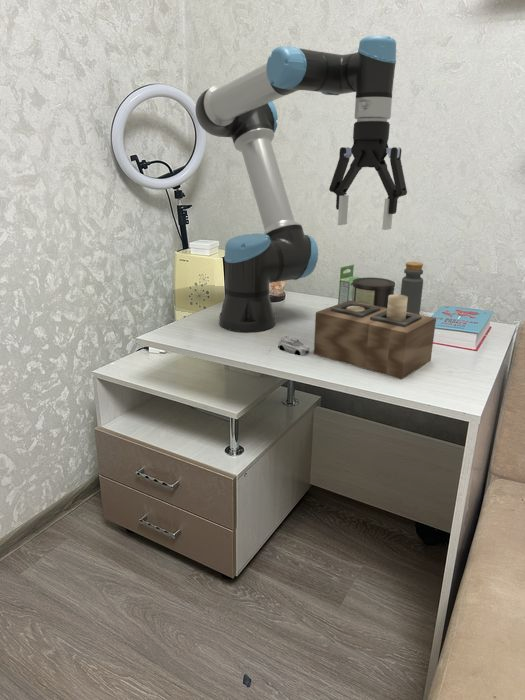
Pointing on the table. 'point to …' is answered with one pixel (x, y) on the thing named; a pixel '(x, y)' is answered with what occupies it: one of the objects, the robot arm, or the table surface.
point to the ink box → (346, 284)
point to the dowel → (397, 307)
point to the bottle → (413, 286)
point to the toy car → (293, 346)
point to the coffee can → (372, 291)
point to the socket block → (374, 338)
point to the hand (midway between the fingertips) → (363, 226)
